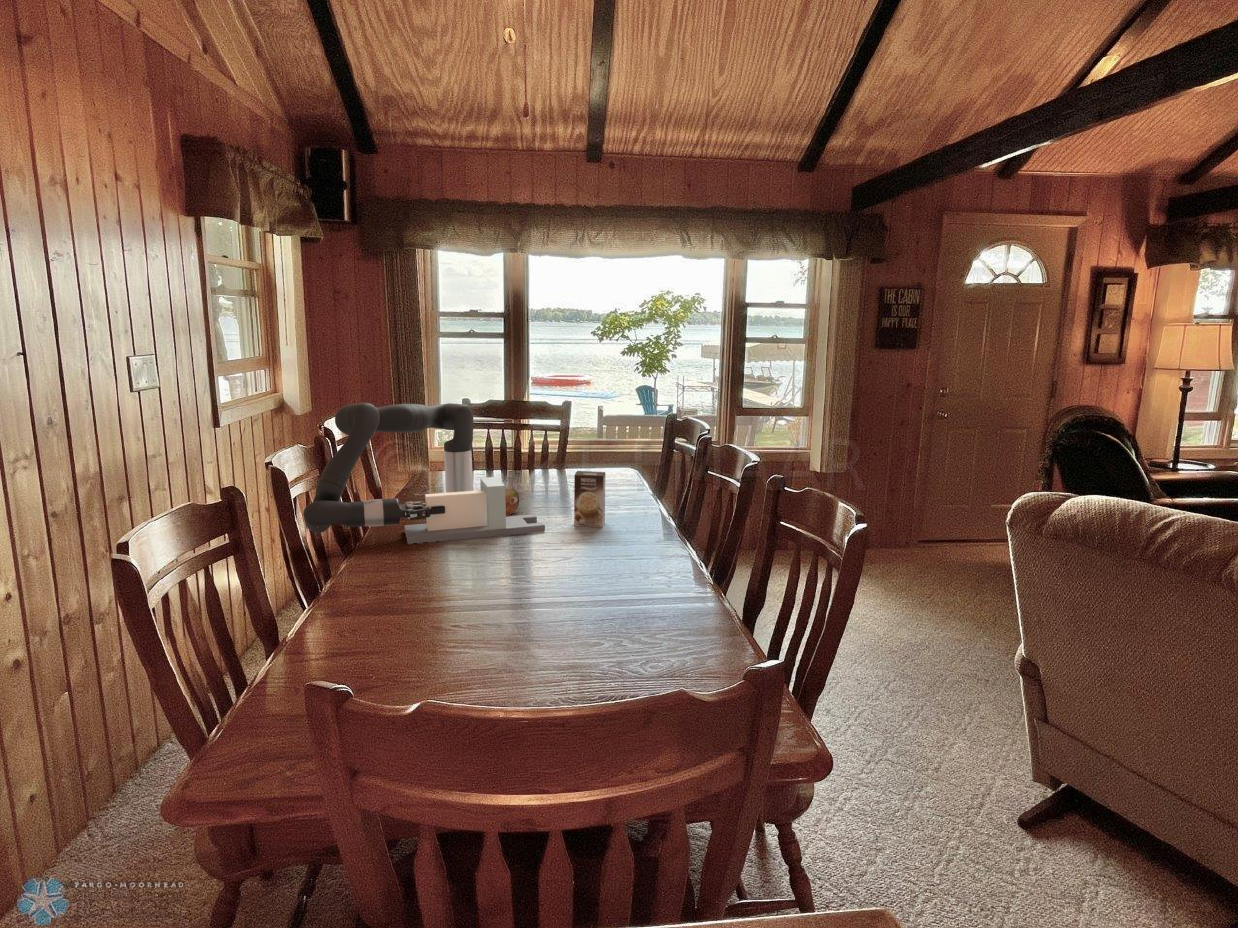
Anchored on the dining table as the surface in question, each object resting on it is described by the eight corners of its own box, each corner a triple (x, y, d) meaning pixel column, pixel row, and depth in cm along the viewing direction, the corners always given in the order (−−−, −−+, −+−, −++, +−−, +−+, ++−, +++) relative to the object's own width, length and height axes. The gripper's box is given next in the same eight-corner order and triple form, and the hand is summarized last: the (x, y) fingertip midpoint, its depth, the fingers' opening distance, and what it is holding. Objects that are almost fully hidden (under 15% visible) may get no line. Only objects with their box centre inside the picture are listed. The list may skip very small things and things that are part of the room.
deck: (404, 531, 213) (404, 525, 212) (534, 520, 226) (534, 514, 226) (408, 544, 201) (407, 537, 200) (544, 531, 214) (544, 525, 214)
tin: (485, 521, 225) (485, 495, 223) (478, 519, 227) (478, 493, 225) (520, 511, 237) (519, 486, 235) (513, 510, 239) (512, 485, 237)
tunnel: (481, 518, 220) (480, 478, 217) (497, 517, 222) (496, 476, 219) (488, 529, 208) (487, 486, 206) (506, 528, 210) (505, 485, 208)
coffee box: (573, 526, 220) (572, 474, 217) (576, 521, 226) (576, 470, 223) (603, 527, 219) (603, 475, 216) (605, 521, 225) (605, 471, 222)
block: (426, 527, 210) (425, 494, 208) (485, 522, 216) (484, 489, 214) (428, 530, 207) (426, 496, 205) (487, 525, 213) (486, 492, 211)
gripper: (381, 505, 196) (446, 500, 202) (379, 493, 209) (440, 489, 215) (383, 531, 197) (447, 526, 203) (381, 519, 210) (441, 514, 216)
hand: (443, 507), depth 209 cm, fingers closed on block, 3 cm apart
